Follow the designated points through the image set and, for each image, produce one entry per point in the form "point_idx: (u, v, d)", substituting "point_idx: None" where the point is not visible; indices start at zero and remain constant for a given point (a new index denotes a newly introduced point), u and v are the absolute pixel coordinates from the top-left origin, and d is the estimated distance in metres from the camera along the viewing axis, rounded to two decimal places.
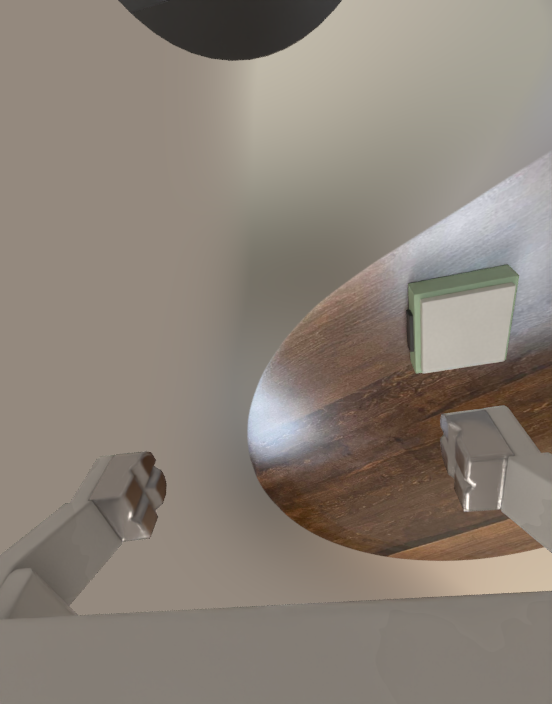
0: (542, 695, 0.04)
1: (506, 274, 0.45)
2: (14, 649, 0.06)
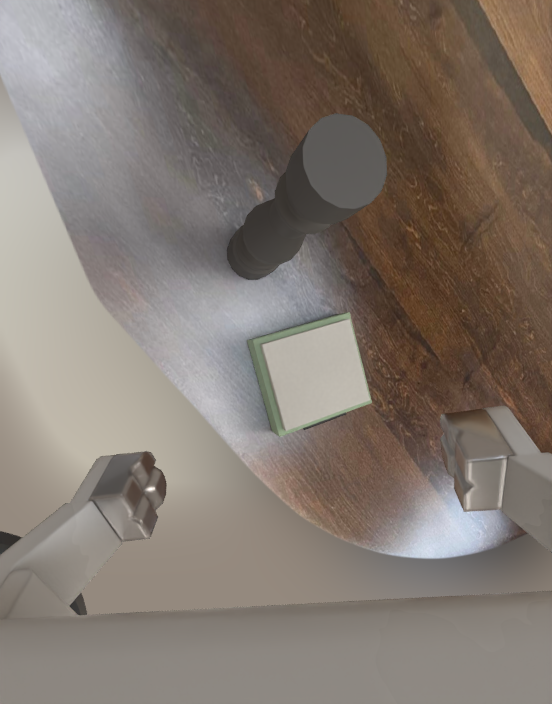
0: (542, 695, 0.04)
1: (253, 349, 0.45)
2: (14, 649, 0.06)
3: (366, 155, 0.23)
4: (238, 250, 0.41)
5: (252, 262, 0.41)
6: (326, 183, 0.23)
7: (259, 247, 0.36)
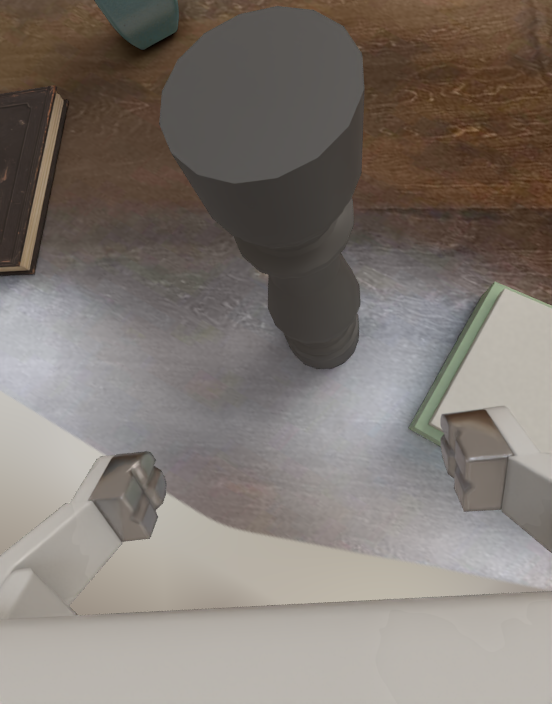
0: (542, 695, 0.04)
1: (426, 435, 0.28)
2: (14, 649, 0.06)
3: (279, 46, 0.10)
4: (301, 349, 0.29)
5: (326, 346, 0.28)
6: (258, 152, 0.10)
7: (310, 329, 0.23)
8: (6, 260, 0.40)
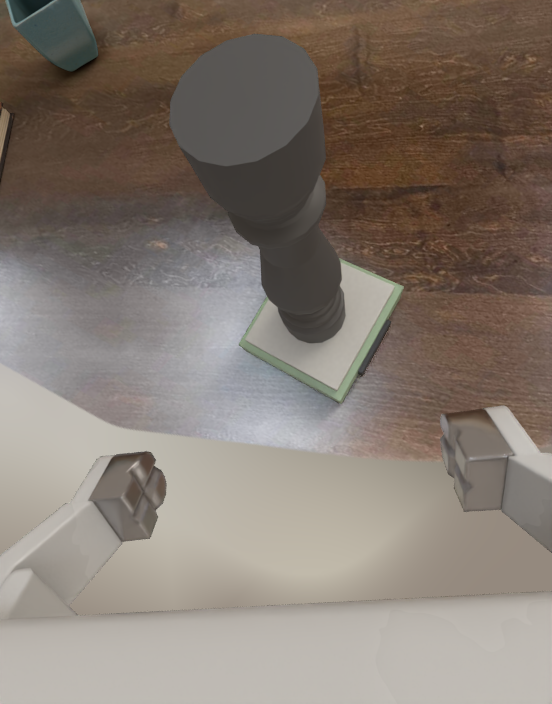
0: (542, 695, 0.04)
1: (248, 350, 0.40)
2: (14, 650, 0.06)
3: (257, 64, 0.14)
4: (293, 323, 0.33)
5: (315, 319, 0.32)
6: (242, 143, 0.13)
7: (298, 300, 0.26)
8: None
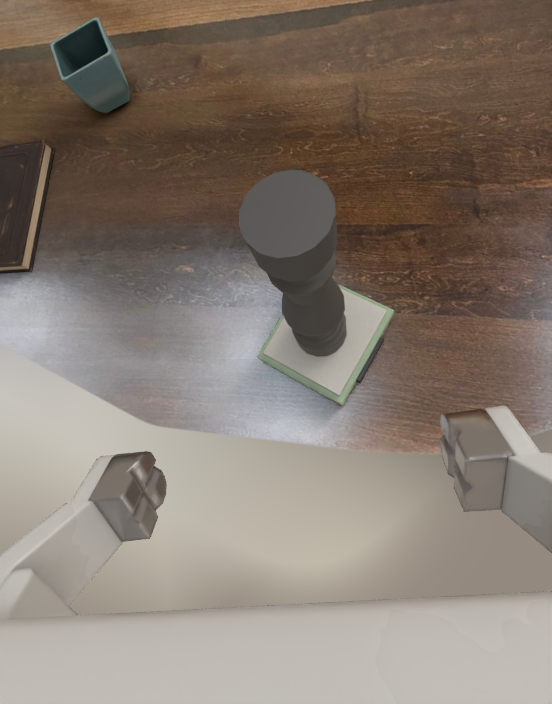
0: (542, 695, 0.04)
1: (265, 361, 0.48)
2: (14, 650, 0.06)
3: (296, 190, 0.22)
4: (305, 341, 0.41)
5: (323, 338, 0.40)
6: (287, 243, 0.21)
7: (311, 326, 0.34)
8: (13, 262, 0.60)
